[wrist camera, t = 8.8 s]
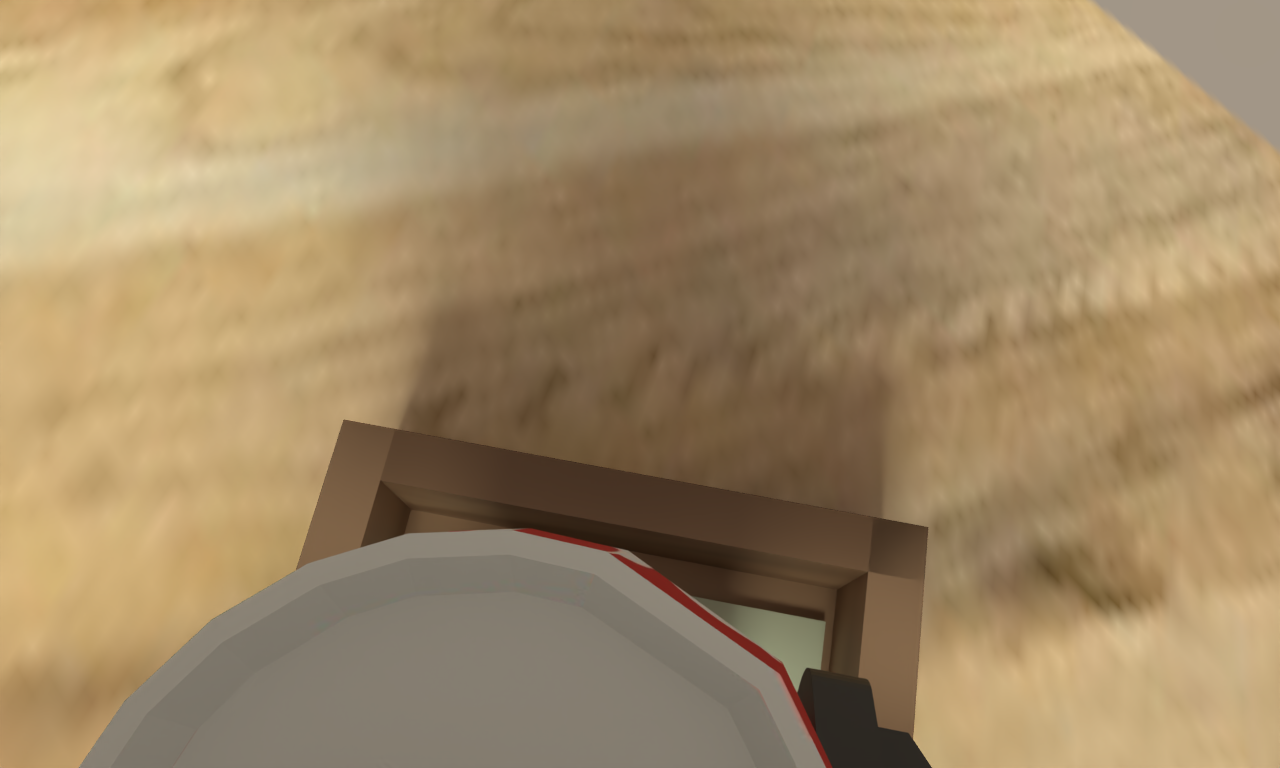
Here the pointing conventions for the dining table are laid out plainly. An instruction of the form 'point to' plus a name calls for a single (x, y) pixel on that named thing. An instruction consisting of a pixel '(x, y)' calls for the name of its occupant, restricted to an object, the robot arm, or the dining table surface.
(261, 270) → the dining table surface
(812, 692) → the robot arm
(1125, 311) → the dining table surface
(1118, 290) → the dining table surface
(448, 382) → the dining table surface
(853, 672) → the caddy
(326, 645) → the soda can
